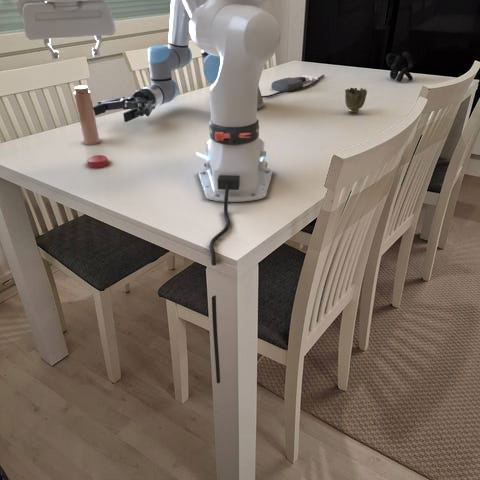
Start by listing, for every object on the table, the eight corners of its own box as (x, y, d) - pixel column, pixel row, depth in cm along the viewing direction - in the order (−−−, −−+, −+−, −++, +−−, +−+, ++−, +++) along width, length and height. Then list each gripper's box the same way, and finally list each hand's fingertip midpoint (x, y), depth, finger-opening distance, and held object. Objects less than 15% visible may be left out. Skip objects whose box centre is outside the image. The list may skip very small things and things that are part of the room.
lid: (106, 159, 125) (105, 154, 124) (108, 166, 121) (107, 160, 120) (87, 162, 124) (86, 156, 123) (88, 169, 119) (87, 163, 119)
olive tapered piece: (340, 114, 157) (342, 91, 153) (346, 109, 163) (348, 86, 159) (361, 116, 154) (364, 93, 150) (366, 111, 160) (369, 88, 156)
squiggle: (400, 92, 202) (376, 71, 205) (417, 76, 202) (392, 56, 205) (405, 81, 191) (380, 59, 194) (423, 64, 191) (397, 42, 194)
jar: (88, 145, 135) (77, 89, 126) (81, 142, 138) (69, 87, 129) (102, 142, 138) (92, 87, 129) (95, 138, 140) (84, 84, 132)
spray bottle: (268, 89, 190) (300, 79, 206) (290, 92, 184) (320, 82, 200) (269, 81, 189) (300, 72, 205) (290, 85, 183) (321, 75, 199)
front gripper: (13, -6, 95) (30, 63, 103) (110, -9, 101) (120, 56, 108) (15, -7, 100) (31, 58, 108) (108, -10, 106) (117, 52, 113)
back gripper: (178, 113, 154) (141, 131, 138) (120, 105, 163) (79, 122, 147) (176, 91, 150) (138, 107, 134) (117, 84, 159) (74, 99, 143)
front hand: (76, 57), depth 108 cm, fingers open, 8 cm apart
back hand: (107, 115), depth 140 cm, fingers open, 13 cm apart
